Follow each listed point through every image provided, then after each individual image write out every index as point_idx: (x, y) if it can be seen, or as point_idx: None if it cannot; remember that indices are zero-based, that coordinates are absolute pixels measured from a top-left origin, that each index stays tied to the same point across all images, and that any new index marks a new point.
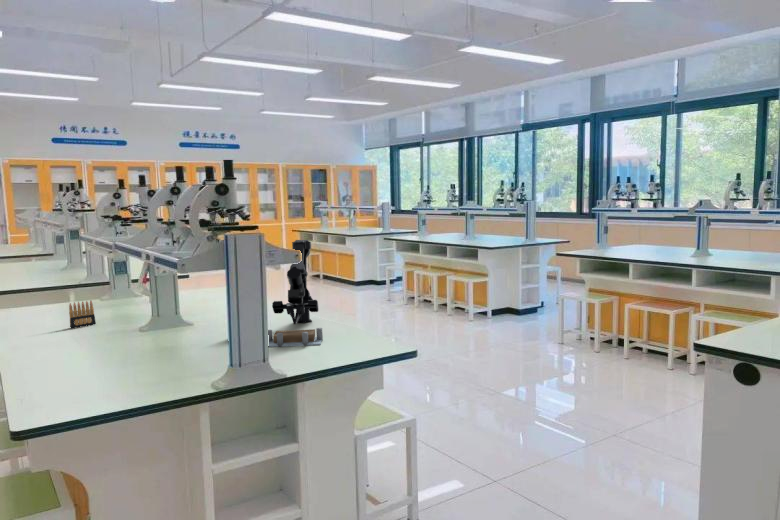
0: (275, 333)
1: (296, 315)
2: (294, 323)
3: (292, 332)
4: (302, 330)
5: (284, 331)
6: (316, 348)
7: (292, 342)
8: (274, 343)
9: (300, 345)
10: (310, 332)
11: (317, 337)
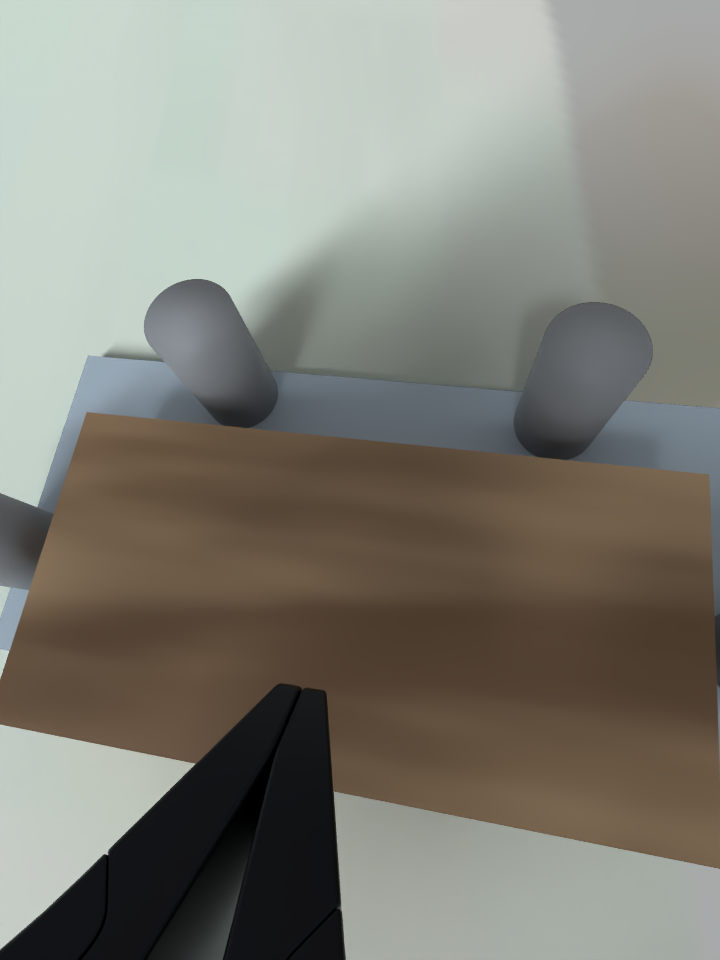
0: (699, 635)
1: (154, 860)
2: (306, 692)
3: (381, 614)
4: (200, 709)
5: (534, 744)
6: (160, 263)
7: None
8: None
9: (306, 381)
10: (101, 528)
11: None
